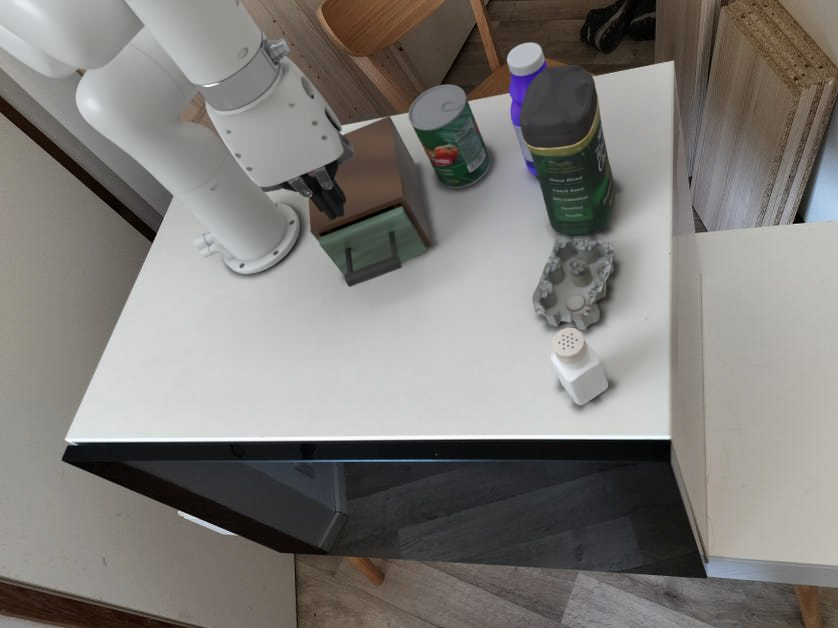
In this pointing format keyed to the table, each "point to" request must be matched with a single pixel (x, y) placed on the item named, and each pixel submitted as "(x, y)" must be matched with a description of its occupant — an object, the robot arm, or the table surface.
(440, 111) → the canned tomato
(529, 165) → the bottle
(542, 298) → the egg carton
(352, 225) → the drawer
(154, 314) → the table surface
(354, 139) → the cabinet
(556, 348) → the salt shaker
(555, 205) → the coffee jar
